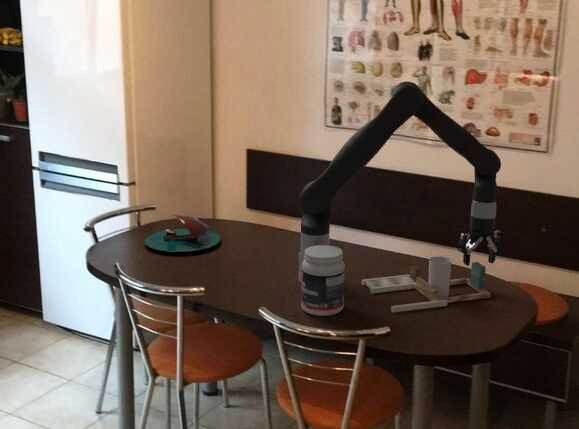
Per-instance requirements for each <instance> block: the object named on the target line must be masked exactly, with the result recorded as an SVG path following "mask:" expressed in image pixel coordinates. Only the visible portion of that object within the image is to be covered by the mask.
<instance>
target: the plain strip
mask: <svg viewBox="0 0 579 429" xmlns="http://www.w3.org/2000/svg"><path fill="white" fill-rule="evenodd" d="M409 275H410V276H409V277H400V278H391V279H382V280H373V281H365V285H364V286H366V287H367V288H368V289H369V290H370V291H371V288H372V287H380V286H389V285H398V284H406V283H415V282H416V277H420V278H421V269H420V267H418V266H417V265H415V264H414V265H410V266H409Z"/></svg>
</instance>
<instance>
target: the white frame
mask: <svg viewBox="0 0 579 429" xmlns="http://www.w3.org/2000/svg"><path fill="white" fill-rule="evenodd" d="M470 270H471V272H470V278H469V277H465V278H464V277H463V278H455V279H450V285H449V286H455V285H456V286H457V285H464V284H466V285H467V286H469V287H471V289H474V291H477V292H478V293H470V294H464V295H463V294H461V295H455V296H454V295H453V296H448V297H445V298H437V290H436V289H435V288H434V287H432V286H431V285H430V284H428V281H426V280H424V279H423V278H422V277H421V276H420V277H416V284H415V287H414V289H415V290H416V291H417V292H419V293H420V294H421V295H423V296H424V297H425V298H426V299H427V300H429V302H430V301H438V300H447V301H448V302H447V304H450V303H455V302H456V303H457V302H465V301H472V300H481V299H488V298H491V292H489V291H488V290H486V289H485V284H486V283H485V282H486V279H485V278H486V266H485V265H483V264H481V263H480V262H478V261H475V262H471V268H470Z"/></svg>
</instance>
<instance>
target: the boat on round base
mask: <svg viewBox="0 0 579 429" xmlns="http://www.w3.org/2000/svg"><path fill="white" fill-rule="evenodd" d="M172 217H175V218H177V219H179V221H181V223H182V227H185V228H174V229H167V228H166V230H160V231H157V232H155V233H152V234H151V235H149V236H147V237H146V238H145V239H144V244H145V245H146V246H147V247H149V248H151V249H154V250H157V251H162V252H163V251H165V252H173V253H174V252H176V253H177V252H179V253H180V252H194V251H195V252H196V251H201V250H205V249H208V248H211V247H214V246H216V245H217V244H219V243H220V241H221V236H220V235H218V234H217V233H215V232H214V231H211V230H209V225H207V224H206V223H204V222H202V221H200V220H199V219H198V218H197V217H194V216H190V215H178V214H177V215H176V214H172ZM172 219H173V221H174V218H172ZM154 241H156V242H154Z"/></svg>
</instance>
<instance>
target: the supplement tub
mask: <svg viewBox="0 0 579 429" xmlns="http://www.w3.org/2000/svg"><path fill="white" fill-rule="evenodd" d="M343 253H344V252H343V250H342V249H341V248H340V247H338V246H335V245H334V246H333V245H329V246H327V245H318V246H312V247H309V248H307V249H306V250H305V252H304V258H305V259H304V261H303V262H302V284H301V283H300V284H301V293H300V294H301V296H300V298H301V299H300V300H301V301H300V302H301V303H300V305H301V308H302V310H303V312H305V313H308V314H310V315H312V316H317V317H327V316H329V317H330V316H334V315H336V314H339V313H341V311H342V310H344V306H345V276H346V275H345V274H346V273H345V271H346V269H345V268H346V264H345V262H344V260H343V259H344V254H343Z"/></svg>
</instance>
